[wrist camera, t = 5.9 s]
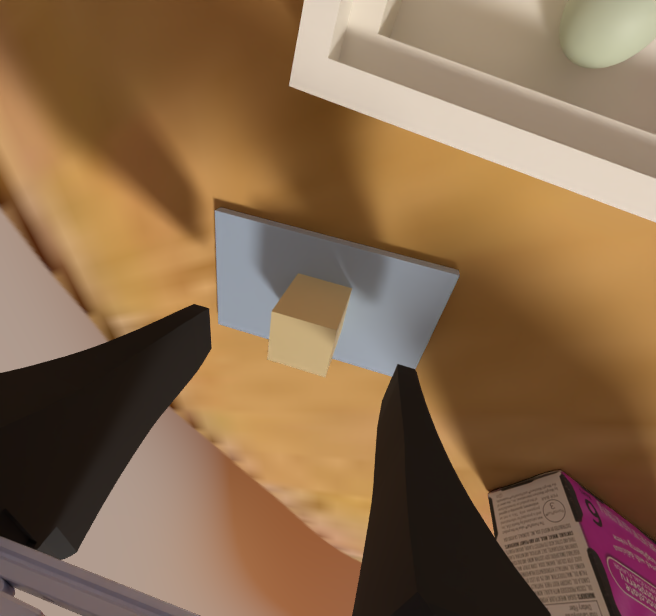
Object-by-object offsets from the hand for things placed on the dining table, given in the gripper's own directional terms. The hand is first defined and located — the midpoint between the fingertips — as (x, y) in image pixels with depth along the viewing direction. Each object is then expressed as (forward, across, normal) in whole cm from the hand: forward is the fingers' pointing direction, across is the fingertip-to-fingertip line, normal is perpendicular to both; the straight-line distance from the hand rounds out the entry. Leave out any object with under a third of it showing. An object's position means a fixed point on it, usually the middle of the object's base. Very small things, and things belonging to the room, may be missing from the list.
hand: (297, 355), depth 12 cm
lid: (+4, 0, 0) cm, 4 cm away
